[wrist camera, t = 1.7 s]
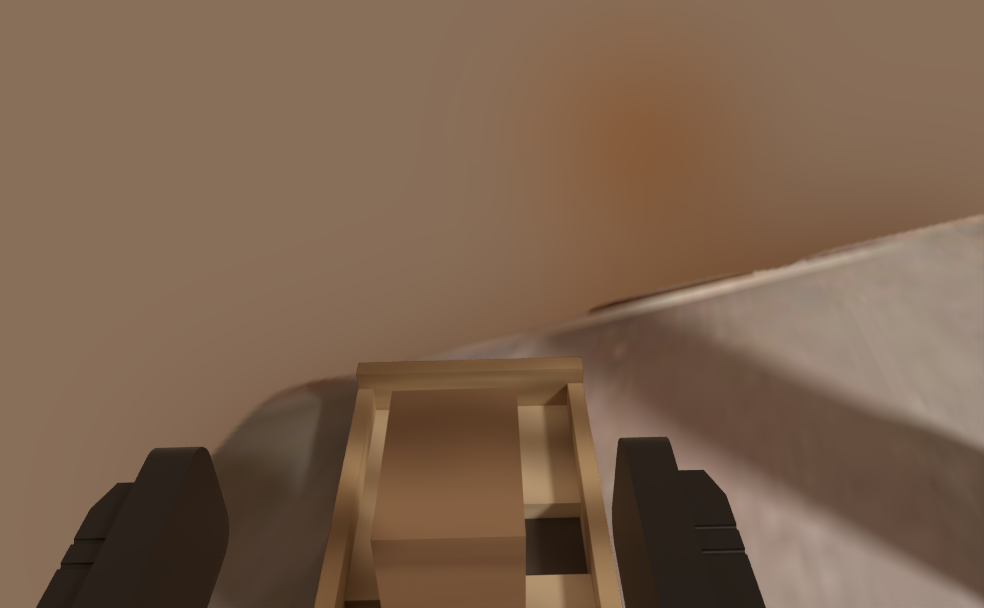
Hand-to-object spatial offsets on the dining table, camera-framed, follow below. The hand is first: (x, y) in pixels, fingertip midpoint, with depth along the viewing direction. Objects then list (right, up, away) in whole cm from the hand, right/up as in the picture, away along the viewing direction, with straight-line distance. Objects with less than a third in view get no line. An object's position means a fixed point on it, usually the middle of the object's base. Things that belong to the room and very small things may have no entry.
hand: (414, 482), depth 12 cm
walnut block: (0, -12, +17) cm, 20 cm away
